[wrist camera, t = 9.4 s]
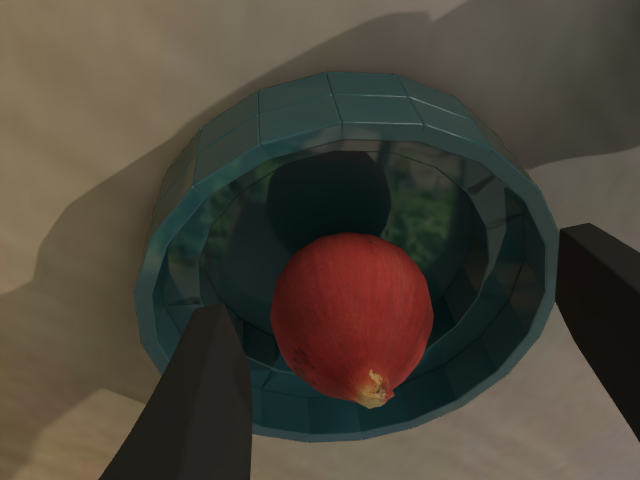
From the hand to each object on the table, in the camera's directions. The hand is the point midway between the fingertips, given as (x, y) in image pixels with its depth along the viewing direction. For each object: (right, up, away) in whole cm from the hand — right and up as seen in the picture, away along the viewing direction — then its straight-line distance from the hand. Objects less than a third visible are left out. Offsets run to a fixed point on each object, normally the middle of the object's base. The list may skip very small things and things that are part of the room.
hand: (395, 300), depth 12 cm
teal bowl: (-1, +1, +12) cm, 12 cm away
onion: (-1, +1, +12) cm, 12 cm away
